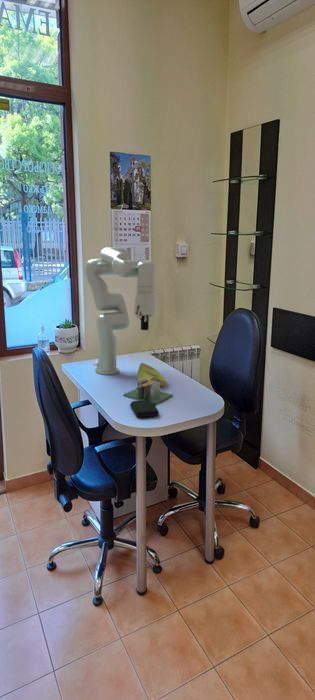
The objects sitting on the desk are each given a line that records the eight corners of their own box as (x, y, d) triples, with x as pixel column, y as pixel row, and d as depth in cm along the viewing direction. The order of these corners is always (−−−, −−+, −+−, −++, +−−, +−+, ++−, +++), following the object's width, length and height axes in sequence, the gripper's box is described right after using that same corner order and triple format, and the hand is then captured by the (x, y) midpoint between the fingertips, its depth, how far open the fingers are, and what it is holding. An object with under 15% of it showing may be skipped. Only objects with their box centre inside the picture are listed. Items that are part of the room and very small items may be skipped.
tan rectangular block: (140, 394, 201) (140, 385, 200) (151, 389, 208) (152, 380, 207) (144, 395, 199) (144, 386, 198) (156, 390, 207) (156, 381, 206)
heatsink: (122, 396, 203) (122, 382, 201) (141, 387, 215) (141, 374, 213) (155, 405, 194) (155, 390, 192) (173, 395, 206) (173, 381, 204)
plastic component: (168, 382, 217) (150, 375, 213) (161, 395, 219) (143, 388, 214) (155, 368, 235) (139, 361, 231) (148, 380, 236) (132, 373, 232)
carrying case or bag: (162, 418, 181) (153, 405, 195) (162, 411, 180) (153, 398, 194) (136, 420, 178) (129, 406, 192) (136, 412, 177) (129, 400, 191)
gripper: (148, 287, 209) (147, 326, 214) (128, 290, 197) (128, 331, 202) (161, 289, 205) (160, 328, 210) (142, 292, 193) (141, 333, 198)
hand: (144, 329), depth 206 cm, fingers closed
